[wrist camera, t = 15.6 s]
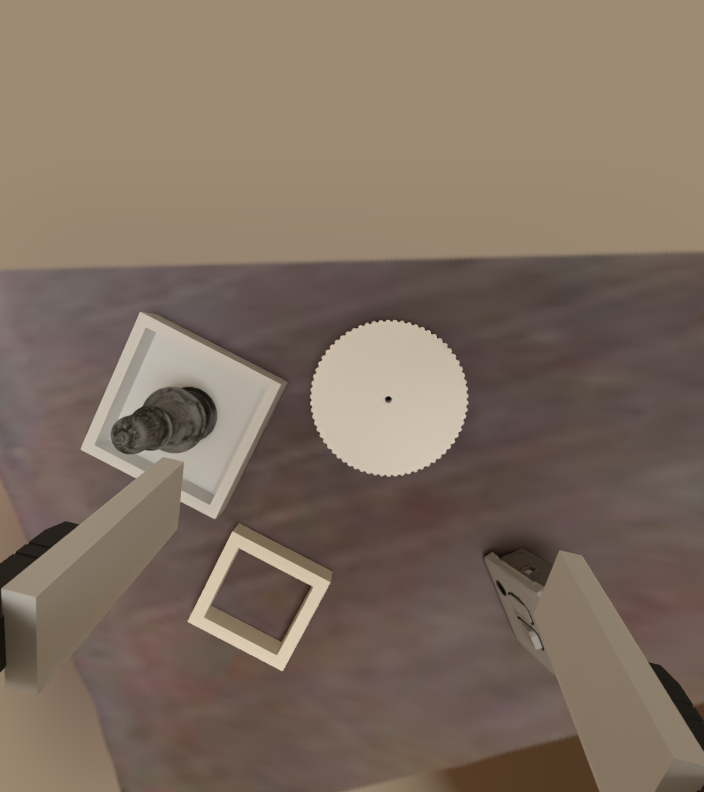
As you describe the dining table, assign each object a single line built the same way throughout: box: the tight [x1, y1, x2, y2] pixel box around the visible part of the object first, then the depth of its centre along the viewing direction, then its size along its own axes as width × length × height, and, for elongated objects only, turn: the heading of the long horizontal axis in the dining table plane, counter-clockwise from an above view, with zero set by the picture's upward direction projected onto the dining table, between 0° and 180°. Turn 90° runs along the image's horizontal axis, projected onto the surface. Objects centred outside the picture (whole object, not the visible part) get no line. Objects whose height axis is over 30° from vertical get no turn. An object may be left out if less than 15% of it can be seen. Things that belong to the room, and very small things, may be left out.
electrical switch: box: [484, 548, 556, 676], centre depth 39 cm, size 9×5×9 cm, turn 23°
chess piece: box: [111, 387, 217, 454], centre depth 37 cm, size 6×6×12 cm
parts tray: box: [80, 312, 288, 519], centre depth 42 cm, size 14×14×3 cm
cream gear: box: [310, 320, 468, 477], centre depth 41 cm, size 14×14×2 cm
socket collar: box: [188, 523, 333, 671], centre depth 44 cm, size 10×10×2 cm
